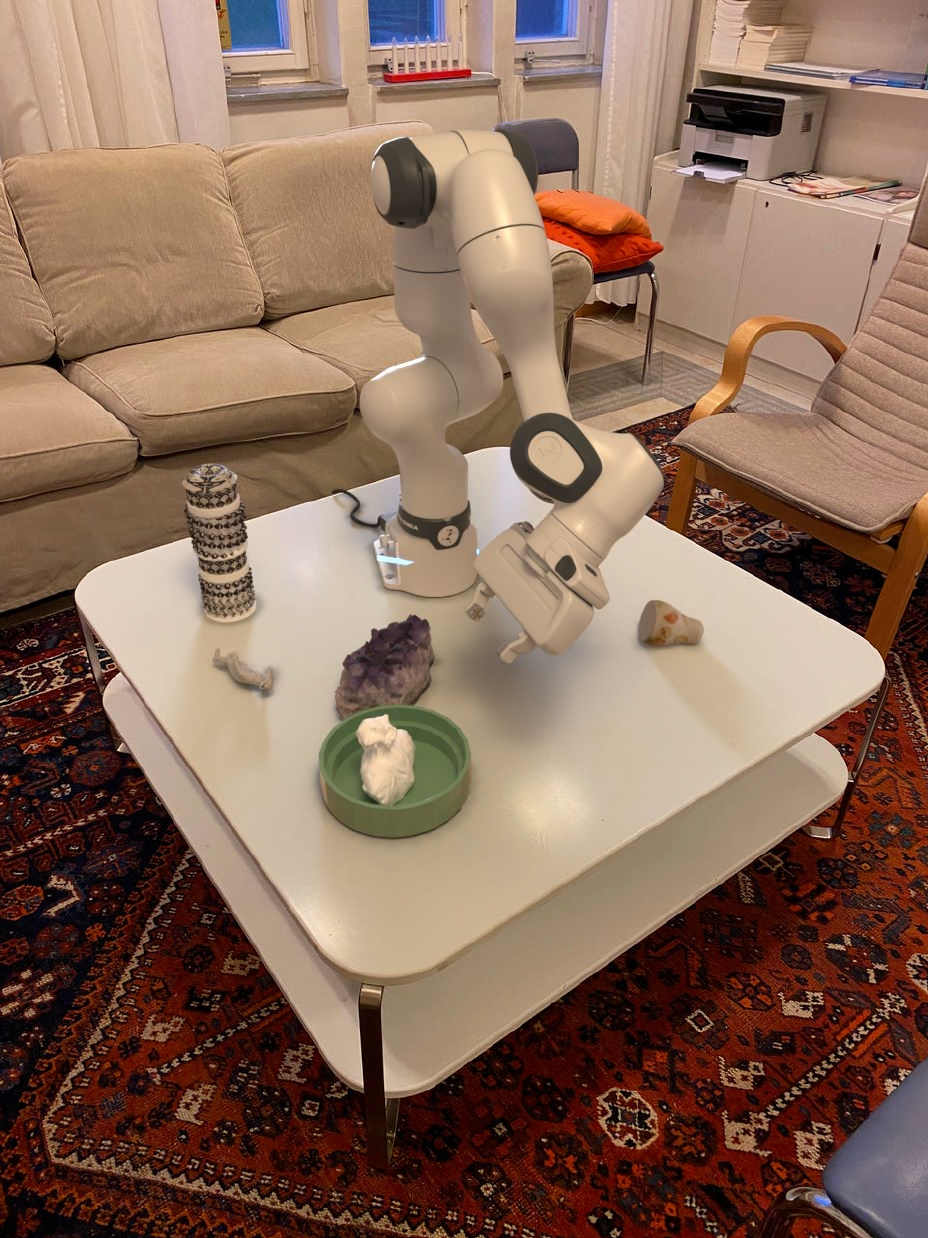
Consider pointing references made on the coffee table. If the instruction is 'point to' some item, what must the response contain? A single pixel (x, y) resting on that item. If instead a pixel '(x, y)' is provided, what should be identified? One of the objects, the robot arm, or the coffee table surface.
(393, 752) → the bust
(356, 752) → the bowl
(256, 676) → the grey figurine
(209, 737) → the coffee table surface
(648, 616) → the mug
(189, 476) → the decorative candle
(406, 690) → the geode
